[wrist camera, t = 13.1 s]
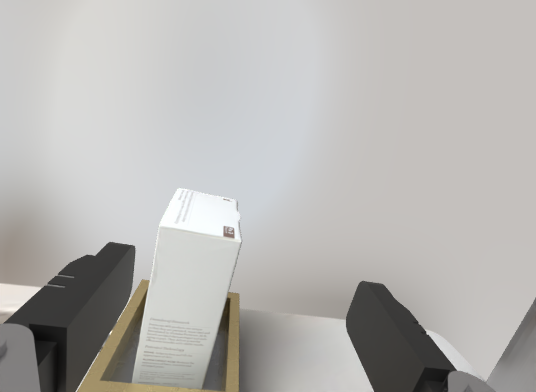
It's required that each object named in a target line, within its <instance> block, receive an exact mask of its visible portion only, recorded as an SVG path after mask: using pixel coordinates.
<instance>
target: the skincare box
mask: <svg viewBox="0 0 536 392" xmlns="http://www.w3.org/2000/svg"><path fill="white" fill-rule="evenodd" d="M237 207H238V201H237V200H234V199H229V198H225V197H220V196H215V195H210V194H205V193H200V192H196V191H192V190H188V189H183V188H178V189H177V191H176V193H175V195H174V196H173V198H172V200H171V202H170V204H169V206H168V207H167V210H166V212H165V214H164V216H163V218H162V220H161V222H160V224H159V228H158V235H157V242H156V247H155V253H154V261H153V268H152V273H151V278H150V282H149V287H148V292H147V298H146V303H145V309H144V315H143V320H142V326H141V332H140V338H139V343H138V349H137V355H136V360H135V366H134V372H133V378H132V383H134V384H146V385H157V386H168V387H180V388H191V389H203V385H204V381H205V377H206V373H207V370H208V366H209V362H210V358H211V355H212V351H213V347H214V344H215V340H216V336H217V333H218V329H219V325H220V322H221V318H222V314H223V310H224V307H225V303H226V299H227V296H228V291H229V288H230V285H231V281H232V277H233V273H234V270H235V267H236V263H237V259H238V255H239V251H240V247H241V244H242V237H241V232H240V224H239V221H240V219H241V216H240V214H239V212H238V208H237Z"/></svg>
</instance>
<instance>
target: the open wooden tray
mask: <svg viewBox="0 0 536 392" xmlns="http://www.w3.org/2000/svg"><path fill="white" fill-rule="evenodd" d="M149 282H150V281H149V280H142V281H141V282H140V284H139V286H138V288H137V289H136V291H135V293H134V295H133V296H132V298H131V300H130V301H129V303H128V305H127V307H126V308H125V310H124V312H123V314H122V315H121V317H120V319H119V320H118V322H116V323H115V325H114V327H113V328H112V330H111V332H110V333H109V335H108V337H107V339H106V340H105V342H104V344H103V345H102V347H103V348H102V350H101V351H100V353H99V355H98V357H97V358H96V360H95V362H94V364H93V365H92V367H91V369H90V370H89V372H88V374H87V376H86V377H85V379H84V381H83V383H82V384H81V386H80V388H79V389H78V391H77V392H239V294H238V293H230V292H228V296H227V299H226V303H225V307H224V310H223V314H222V318H221V322H220V325H219V329H218V333H217V336H216V340H215V344H214V347H213V351H212V355H211V358H210V362H209V366H208V370H207V373H206V377H205V381H204V385H203V389H191V388H180V387H168V386H157V385H146V384H134V383H132V378H133V372H134V366H135V360H136V355H137V349H138V343H139V338H140V332H141V326H142V320H143V315H144V309H145V303H146V298H147V292H148V287H149Z"/></svg>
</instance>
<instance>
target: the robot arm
mask: <svg viewBox="0 0 536 392" xmlns="http://www.w3.org/2000/svg"><path fill="white" fill-rule="evenodd" d="M134 262H135V246H133V245H127V244H120V243H114V242H109V243H108V244H106V246H105V247H104V248H103V249H102V250H101V251H100V252H99V253H98V254H97V255H96V256H93V255H86V256H83V257H81V258H79V259H77V260H75V261H73V262H70V263H69V264H68V265H67V266H66V267H65V268H64V269H63V270H62V271H60V272H59V273H58V276H55V277H54V278H53V279H52V280H51V281H49V282H48V284H47V286H44V287H43V288H42V289H41V290H39V291H38V292H37V293H36V294H35V295H34V296H33V297H32V298H31V299H30V300H28V301H27V302H26V303H25V304H24V305H23V306H22V307H21V308H20V309H19V310H17V311H16V312H15V313H14V314H13V315H12V316H11V317H10V318H9V319H8V320H6V321H5V322H4V323H3V324H0V392H75V391H76V390H77V388H78V386H79V385H80V383H81V381H82V379H83V378H84V376H85V374H86V373H87V371H88V369H89V367H90V366H91V364H92V362H93V361H94V359H95V357H96V356H97V354H98V352H99V350H100V349H101V347H102V345H103V344H104V342H105V340H106V339H107V337H108V335H109V333H110V332H111V330H112V328H113V327H114V325H115V323H116V322H117V320H118V318H119V316H120V315H121V313H122V311H123V310H124V308H125V306H126V304H127V302H128V300H129V297H130V294H131V290H132V283H133V273H134V272H133V271H134ZM346 328H347V332H348V335H349V337H350V339H351V341H352V344H353V346H354V348H355V350H356V352H357V355H358V357H359V359H360V361H361V363H362V366H363V368H364V370H365V372H366V374H367V377H368V379H369V381H370V383H371V385H372V388H373V390H374V392H536V298H535V300H534V302H533V304H532V305H531V307H530V309H529V310H528V312H527V314H526V316H525V317H524V319H523V321H522V322H521V324H520V326H519V328H518V329H517V331H516V332H515V334H514V336H513V338H512V339H511V341H510V343H509V344H508V346H507V348H506V349H505V351H504V353H503V354H502V356H501V358H500V360H499V361H498V363H497V365H496V367H495V368H494V370H493V371H492V373H491V375H490V377H489V378H488V380H487V381H486V383H485V382H483V381H482V380H480V379H478V378H477V377H475V376H473V375H471V374H468V373H465V372H462V371H457V370H456V369H455V367H454V366H453V365H452V364H451V362H450V361H449V360H448V359H447V357H446V356H445V355H444V354H443V352H442V351H441V350H440V349H439V347H438V346H437V345H436V344H435V342H434V341H433V340H432V339H431V337H430V336H429V335H427V334H426V331H425V330H424V329H423V328H422V326H421V325H419V324H418V321H417V320H416V319H415V317H414V316H413V315H412V314H411V312H410V311H409V310H408V309H407V308H405V307H404V306H403V305H402V304H400V303H399V302H398V301H397V300H396V299H395V298H394V297H393V296H392V294H391V293H390V292H389V290H388V289H387V288H386V287H385V286H384V285H383V284H379V283H373V282H365V281H362V282H360V283H359V285H358V287H357V290H356V292H355V295H354V297H353V300H352V303H351V306H350V308H349V311H348V314H347V317H346Z"/></svg>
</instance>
